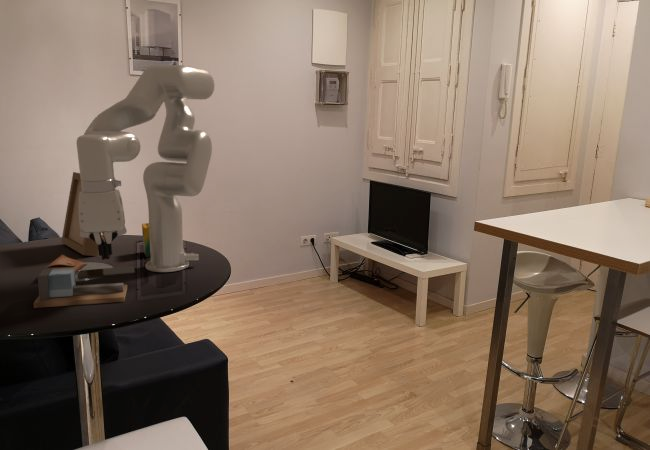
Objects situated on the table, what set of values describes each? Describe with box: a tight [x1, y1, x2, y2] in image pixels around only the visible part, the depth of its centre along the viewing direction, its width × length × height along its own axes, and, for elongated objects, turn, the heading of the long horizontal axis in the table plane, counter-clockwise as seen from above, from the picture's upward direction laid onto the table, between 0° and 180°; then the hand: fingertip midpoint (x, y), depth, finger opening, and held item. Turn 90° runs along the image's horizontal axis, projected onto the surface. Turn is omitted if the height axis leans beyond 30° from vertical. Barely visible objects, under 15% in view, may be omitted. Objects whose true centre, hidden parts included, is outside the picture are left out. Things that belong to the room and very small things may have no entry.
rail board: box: [33, 282, 128, 309], centre depth 132 cm, size 20×10×3 cm, turn 106°
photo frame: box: [60, 171, 107, 257], centre depth 177 cm, size 15×22×25 cm
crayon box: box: [141, 222, 151, 258], centre depth 172 cm, size 7×3×12 cm, turn 24°
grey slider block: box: [48, 269, 77, 297], centre depth 130 cm, size 5×5×6 cm
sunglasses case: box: [45, 254, 88, 276], centre depth 152 cm, size 18×7×7 cm
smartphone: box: [78, 265, 136, 280], centre depth 153 cm, size 7×1×15 cm
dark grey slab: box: [37, 267, 53, 301], centre depth 129 cm, size 2×7×6 cm, turn 16°
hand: (106, 257), depth 133 cm, fingers closed
